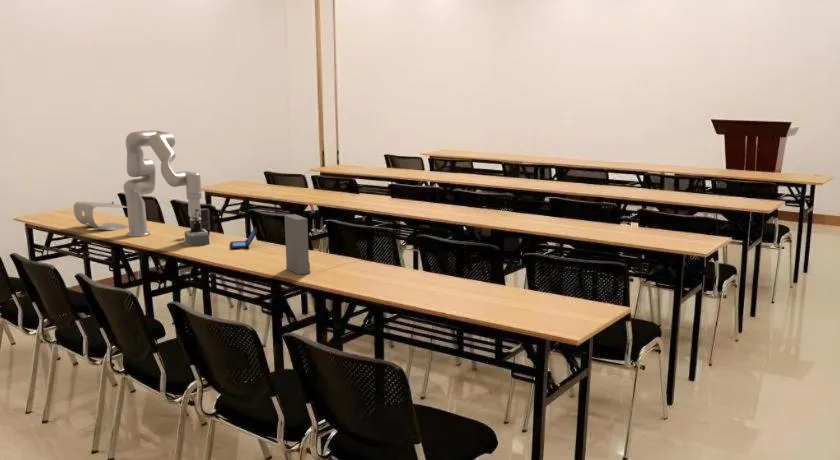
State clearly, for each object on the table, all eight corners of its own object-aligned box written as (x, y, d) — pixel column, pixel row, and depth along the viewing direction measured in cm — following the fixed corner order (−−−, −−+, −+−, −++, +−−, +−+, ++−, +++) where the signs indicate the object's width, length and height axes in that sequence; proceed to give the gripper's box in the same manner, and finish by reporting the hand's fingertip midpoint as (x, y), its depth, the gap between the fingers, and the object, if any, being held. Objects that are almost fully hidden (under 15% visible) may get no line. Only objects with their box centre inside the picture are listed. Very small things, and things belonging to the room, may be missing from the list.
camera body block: (185, 241, 390) (184, 229, 389) (203, 239, 395) (203, 228, 393) (190, 246, 378) (189, 234, 377) (209, 244, 382) (208, 232, 381)
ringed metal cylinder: (189, 230, 386) (188, 217, 385) (200, 229, 389) (199, 216, 387) (191, 232, 381) (190, 219, 380) (202, 231, 384) (202, 218, 382)
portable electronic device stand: (74, 227, 428) (72, 202, 425) (112, 222, 446) (110, 197, 443) (94, 233, 412) (92, 206, 409) (133, 227, 430) (131, 201, 427)
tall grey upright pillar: (311, 273, 322) (309, 218, 317) (298, 275, 318) (296, 219, 313) (298, 267, 333) (296, 214, 328) (286, 268, 330) (284, 215, 325)
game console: (230, 244, 383) (229, 227, 381) (256, 242, 387) (255, 226, 385) (230, 250, 368) (229, 233, 367) (257, 248, 372) (256, 231, 370)
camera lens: (213, 234, 409) (211, 208, 406) (207, 237, 401) (205, 210, 398) (199, 233, 409) (197, 207, 406) (193, 236, 401) (191, 210, 398)
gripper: (183, 194, 387) (185, 227, 390) (190, 198, 372) (192, 232, 376) (198, 193, 390) (200, 226, 394) (204, 197, 376) (206, 231, 379)
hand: (196, 229), depth 385 cm, fingers closed on ringed metal cylinder, 5 cm apart
